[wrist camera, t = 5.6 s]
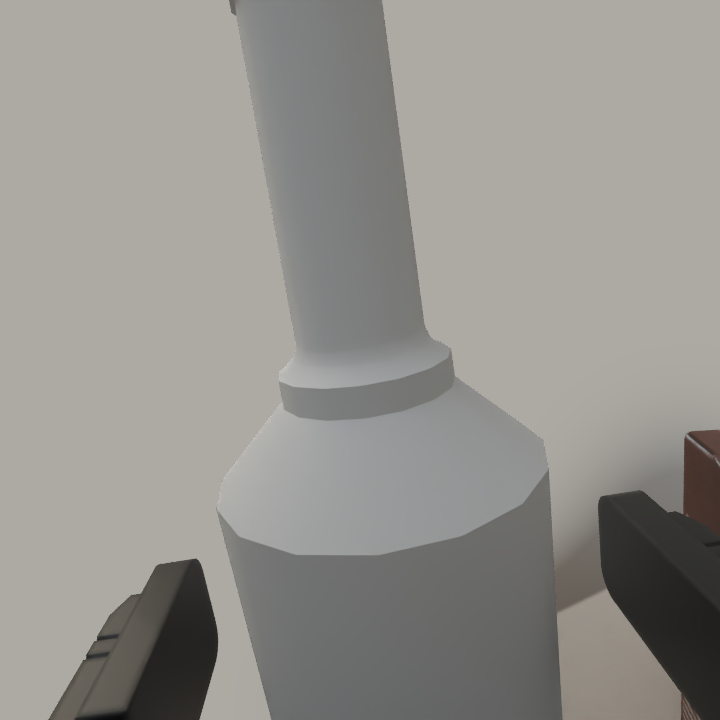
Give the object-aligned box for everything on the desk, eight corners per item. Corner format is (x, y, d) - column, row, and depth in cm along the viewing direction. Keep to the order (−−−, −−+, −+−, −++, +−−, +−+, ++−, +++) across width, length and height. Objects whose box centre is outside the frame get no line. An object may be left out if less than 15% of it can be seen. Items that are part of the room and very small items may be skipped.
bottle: (341, 1035, 14) (80, -63, 8) (510, 929, 16) (389, -59, 10) (433, 1423, 10) (-17, -473, 4) (661, 1218, 11) (603, -347, 5)
